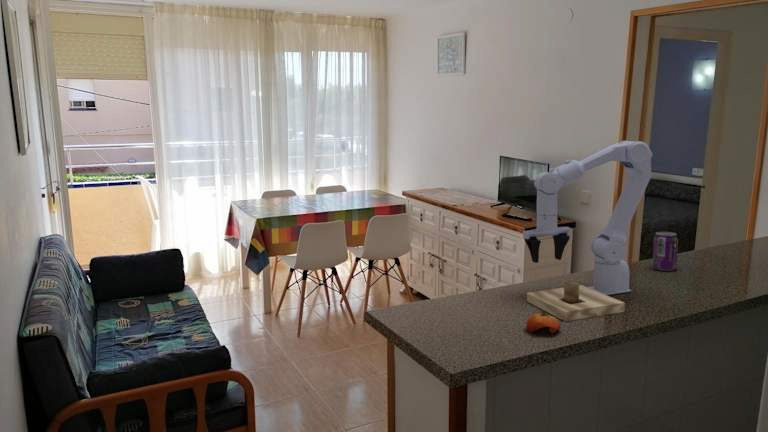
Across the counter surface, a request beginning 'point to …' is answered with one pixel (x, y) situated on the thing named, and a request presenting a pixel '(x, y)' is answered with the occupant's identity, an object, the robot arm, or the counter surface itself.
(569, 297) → the peg
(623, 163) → the robot arm
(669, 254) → the beverage can
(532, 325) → the tomato
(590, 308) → the board
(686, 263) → the counter surface
